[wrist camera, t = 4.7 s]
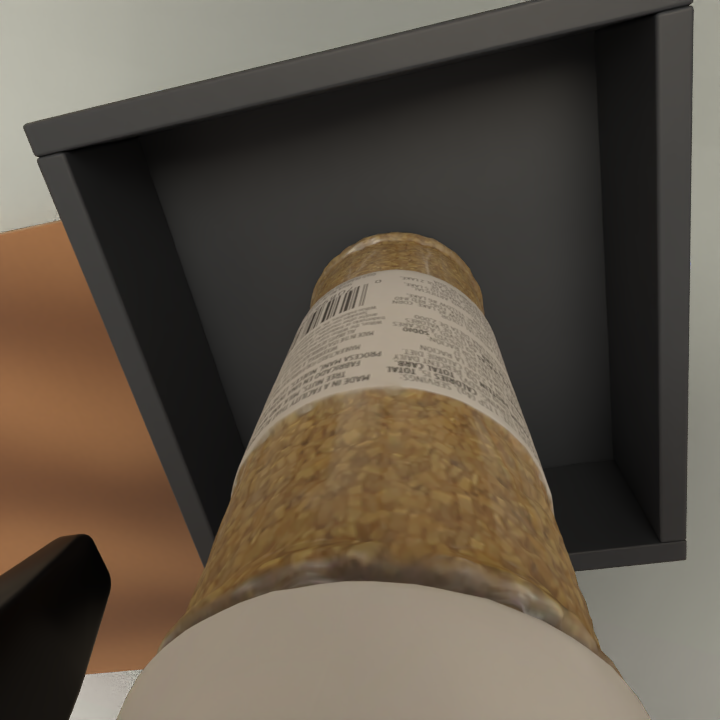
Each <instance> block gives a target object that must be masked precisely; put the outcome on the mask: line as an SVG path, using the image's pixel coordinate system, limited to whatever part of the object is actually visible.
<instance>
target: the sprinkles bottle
mask: <svg viewBox="0 0 720 720" xmlns="http://www.w3.org/2000/svg"><path fill="white" fill-rule="evenodd" d="M116 720H651V719H650V717H649V715H648V713H647V712H646V710H645V708H644V707H643V705H642V703H641V702H640V700H639V698H638V697H637V696H636V694H635V693H634V692H633V691H632V690H631V688H630V687H629V686H628V685H627V684H626V683H625V681H624V679H623V678H622V676H621V674H620V673H619V671H618V670H617V668H616V667H615V665H614V663H613V662H612V661H611V660H610V659H609V658H608V657H607V656H606V655H605V654H604V653H603V652H602V651H601V649H600V645H599V642H598V639H597V637H596V635H595V632H594V629H593V623H592V619H591V617H590V615H589V612H588V608H587V604H586V601H585V599H584V597H583V595H582V593H581V591H580V589H579V587H578V583H577V579H576V575H575V571H574V569H573V566H572V564H571V561H570V558H569V555H568V552H567V550H566V548H565V545H564V542H563V538H562V535H561V533H560V531H559V528H558V526H557V523H556V520H555V518H554V510H553V502H552V495H551V492H550V489H549V486H548V484H547V481H546V478H545V475H544V472H543V469H542V466H541V463H540V460H539V458H538V455H537V452H536V449H535V446H534V444H533V441H532V438H531V435H530V432H529V430H528V427H527V424H526V422H525V419H524V417H523V414H522V411H521V408H520V406H519V403H518V400H517V397H516V395H515V392H514V389H513V387H512V384H511V381H510V379H509V376H508V373H507V370H506V367H505V364H504V361H503V358H502V355H501V352H500V350H499V347H498V344H497V341H496V338H495V335H494V333H493V331H492V329H491V327H490V325H489V323H488V321H487V320H486V318H485V316H484V308H483V299H482V293H481V290H480V286H479V285H478V283H477V281H476V280H475V278H474V277H473V275H472V273H471V270H470V268H469V267H468V266H467V265H466V264H465V262H464V261H463V260H462V259H461V258H460V257H459V256H458V255H457V254H456V253H455V252H454V251H452V250H451V249H449V248H448V247H446V246H445V245H443V244H442V243H440V242H438V241H437V240H435V239H433V238H428V237H424V236H421V235H418V234H413V233H401V232H390V233H385V234H377V235H373V236H369V237H366V238H363V239H361V240H359V241H358V242H357V243H355V244H353V245H351V246H348V247H347V248H345V249H344V250H343V251H342V252H341V254H339V255H338V256H336V257H335V258H334V259H332V260H331V261H330V263H329V264H328V265H327V266H326V268H325V269H324V271H323V273H322V275H321V276H320V278H319V279H318V281H317V283H316V285H315V288H314V290H313V294H312V298H311V304H310V310H309V312H308V313H307V315H306V316H305V318H304V319H303V321H302V323H301V325H300V327H299V329H298V331H297V333H296V336H295V338H294V340H293V342H292V345H291V347H290V349H289V352H288V354H287V356H286V358H285V361H284V363H283V365H282V367H281V370H280V372H279V375H278V377H277V379H276V381H275V383H274V385H273V388H272V390H271V392H270V394H269V397H268V399H267V401H266V404H265V406H264V409H263V411H262V413H261V416H260V418H259V420H258V423H257V425H256V427H255V430H254V432H253V434H252V437H251V439H250V442H249V444H248V446H247V449H246V451H245V453H244V456H243V458H242V461H241V463H240V465H239V468H238V471H237V474H236V477H235V480H234V484H233V488H232V493H231V500H230V503H229V505H228V508H227V510H226V512H225V515H224V517H223V519H222V522H221V524H220V527H219V530H218V532H217V535H216V537H215V540H214V543H213V546H212V549H211V552H210V555H209V558H208V561H207V564H206V567H205V568H204V570H203V572H202V575H201V577H200V579H199V581H198V584H197V586H196V588H195V590H194V593H193V595H192V598H191V600H190V603H189V605H188V608H187V611H186V613H185V614H184V615H183V616H182V617H181V618H180V619H179V620H178V622H177V623H176V624H175V625H174V626H173V627H172V628H171V630H170V631H169V632H168V633H167V634H166V636H165V638H164V639H163V641H162V643H161V644H160V646H159V648H158V651H157V654H156V656H155V657H154V658H153V659H152V660H151V661H150V662H149V663H148V664H147V666H146V667H145V668H144V669H143V671H142V672H141V673H140V675H139V676H138V677H137V679H136V681H135V683H134V684H133V686H132V688H131V690H130V692H129V693H128V695H127V697H126V699H125V702H124V704H123V706H122V708H121V710H120V713H119V715H118V717H117V719H116Z"/></svg>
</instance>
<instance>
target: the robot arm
mask: <svg viewBox="0 0 720 720" xmlns="http://www.w3.org/2000/svg"><path fill="white" fill-rule="evenodd" d="M110 590H111V577H110V573H109V571H108V569H107V567H106V565H105V563H104V561H103V559H102V557H101V555H100V553H99V551H98V549H97V547H96V545H95V543H94V541H93V539H92V538H91V537H90V536H89V535H87V534H75V535H67V536H61V537H58V538H57V539H55V540H53V541H52V542H50V543H49V544H47V545H46V546H44V547H43V548H41V549H40V550H38V551H37V552H35V553H34V554H32V555H31V556H29V557H28V558H26V559H25V560H23V561H22V562H20V563H19V564H17V565H16V566H14V567H13V568H11V569H10V570H8V571H7V572H5V573H3V574H2V575H0V720H69V718H70V715H71V713H72V710H73V708H74V705H75V703H76V700H77V697H78V695H79V692H80V689H81V686H82V683H83V680H84V677H85V674H86V671H87V667H88V664H89V661H90V657H91V654H92V651H93V647H94V644H95V641H96V637H97V634H98V631H99V628H100V624H101V621H102V618H103V614H104V611H105V608H106V604H107V601H108V598H109V595H110Z"/></svg>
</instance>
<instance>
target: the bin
mask: <svg viewBox="0 0 720 720" xmlns="http://www.w3.org/2000/svg"><path fill="white" fill-rule="evenodd" d="M692 2H693V0H531V1H526V2H522V3H518V4H514V5H510V6H506V7H502V8H498V9H494V10H490V11H485V12H481V13H477V14H473V15H469V16H465V17H461V18H457V19H453V20H449V21H444V22H440V23H436V24H432V25H428V26H424V27H420V28H416V29H412V30H408V31H403V32H399V33H395V34H391V35H387V36H383V37H379V38H375V39H371V40H367V41H363V42H358V43H354V44H350V45H346V46H342V47H338V48H334V49H330V50H326V51H322V52H317V53H313V54H309V55H305V56H301V57H297V58H293V59H289V60H285V61H281V62H276V63H272V64H268V65H264V66H260V67H256V68H252V69H248V70H244V71H240V72H235V73H231V74H227V75H223V76H219V77H215V78H211V79H207V80H203V81H199V82H195V83H190V84H186V85H182V86H178V87H174V88H170V89H166V90H162V91H158V92H154V93H149V94H145V95H141V96H137V97H133V98H129V99H125V100H121V101H117V102H113V103H108V104H104V105H100V106H96V107H92V108H88V109H84V110H80V111H76V112H72V113H67V114H63V115H59V116H55V117H51V118H47V119H43V120H39V121H35V122H31V123H27V124H25V125H24V126H23V128H24V131H25V133H26V136H27V138H28V141H29V143H30V146H31V148H32V150H33V153H34V155H35V156H37V157H39V158H38V159H37V163H38V165H39V167H40V170H41V172H42V175H43V177H44V180H45V182H46V185H47V187H48V189H49V192H50V194H51V197H52V199H53V202H54V204H55V206H56V209H57V211H58V214H59V216H60V219H61V221H62V223H63V226H64V228H65V231H66V233H67V236H68V238H69V241H70V243H71V245H72V248H73V250H74V253H75V255H76V258H77V260H78V262H79V265H80V267H81V270H82V272H83V275H84V277H85V279H86V282H87V284H88V287H89V289H90V292H91V294H92V296H93V299H94V301H95V304H96V306H97V309H98V311H99V314H100V316H101V318H102V321H103V323H104V326H105V328H106V331H107V333H108V335H109V338H110V340H111V343H112V345H113V348H114V350H115V352H116V355H117V357H118V360H119V362H120V365H121V367H122V370H123V372H124V374H125V377H126V379H127V382H128V384H129V387H130V389H131V391H132V394H133V396H134V399H135V401H136V404H137V406H138V408H139V411H140V413H141V416H142V418H143V421H144V423H145V426H146V428H147V430H148V433H149V435H150V438H151V440H152V443H153V445H154V447H155V450H156V452H157V455H158V457H159V460H160V462H161V464H162V467H163V469H164V472H165V474H166V477H167V479H168V482H169V484H170V486H171V489H172V491H173V494H174V496H175V499H176V501H177V503H178V506H179V508H180V511H181V513H182V516H183V518H184V520H185V523H186V525H187V528H188V530H189V533H190V535H191V538H192V540H193V542H194V545H195V547H196V550H197V552H198V555H199V557H200V559H201V562H202V564H203V567H204V568H205V567H206V564H207V561H208V558H209V555H210V552H211V549H212V546H213V543H214V540H215V537H216V535H217V532H218V530H219V527H220V524H221V522H222V519H223V517H224V515H225V512H226V510H227V508H228V505H229V503H230V500H231V493H232V488H233V484H234V480H235V477H236V474H237V471H238V468H239V465H240V463H241V461H242V458H243V456H244V453H245V451H246V449H247V446H248V444H249V442H250V439H251V437H252V434H253V432H254V430H255V427H256V425H257V423H258V420H259V418H260V416H261V413H262V411H263V409H264V406H265V404H266V401H267V399H268V397H269V394H270V392H271V390H272V388H273V385H274V383H275V381H276V379H277V377H278V375H279V372H280V370H281V367H282V365H283V363H284V361H285V358H286V356H287V354H288V352H289V349H290V347H291V345H292V342H293V340H294V338H295V336H296V333H297V331H298V329H299V327H300V325H301V323H302V321H303V319H304V318H305V316H306V315H307V313H308V312H309V310H310V304H311V298H312V294H313V290H314V288H315V285H316V283H317V281H318V279H319V278H320V276H321V275H322V273H323V271H324V269H325V268H326V266H327V265H328V264H329V263H330V261H331V260H332V259H334V258H335V257H336V256H338V255H339V254H341V252H342V251H343V250H344V249H345V248H347V247H348V246H351V245H353V244H355V243H357V242H358V241H359V240H361V239H363V238H366V237H369V236H373V235H377V234H385V233H390V232H401V233H413V234H418V235H421V236H424V237H428V238H433V239H435V240H437V241H438V242H440V243H442V244H443V245H445V246H446V247H448V248H449V249H451V250H452V251H454V252H455V253H456V254H457V255H458V256H459V257H460V258H461V259H462V260H463V261H464V262H465V264H466V265H467V266H468V267H469V268H470V270H471V273H472V275H473V277H474V278H475V280H476V281H477V283H478V285H479V286H480V290H481V293H482V299H483V308H484V316H485V318H486V320H487V321H488V323H489V325H490V327H491V329H492V331H493V333H494V335H495V338H496V341H497V344H498V347H499V350H500V352H501V355H502V358H503V361H504V364H505V367H506V370H507V373H508V376H509V379H510V381H511V384H512V387H513V389H514V392H515V395H516V397H517V400H518V403H519V406H520V408H521V411H522V414H523V417H524V419H525V422H526V424H527V427H528V430H529V432H530V435H531V438H532V441H533V444H534V446H535V449H536V452H537V455H538V458H539V460H540V463H541V466H542V469H543V472H544V475H545V478H546V481H547V484H548V486H549V489H550V492H551V495H552V502H553V510H554V518H555V520H556V523H557V526H558V528H559V531H560V533H561V535H562V538H563V542H564V545H565V548H566V550H567V552H568V555H569V558H570V561H571V564H572V566H573V569H574V571H584V570H594V569H603V568H613V567H622V566H632V565H642V564H651V563H661V562H671V561H680V560H686V543H687V541H686V540H685V539H686V513H687V441H688V370H689V299H690V227H691V156H692V85H693V13H694V9H693V6H689V5H690V4H691V3H692Z"/></svg>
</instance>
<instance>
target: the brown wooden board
mask: <svg viewBox="0 0 720 720" xmlns="http://www.w3.org/2000/svg"><path fill="white" fill-rule="evenodd" d="M75 534H87V535H89V536H90V537H91V538H92V539H93V541H94V543H95V545H96V547H97V549H98V551H99V553H100V555H101V557H102V559H103V561H104V563H105V565H106V567H107V569H108V571H109V573H110V577H111V590H110V595H109V598H108V601H107V604H106V608H105V611H104V614H103V618H102V621H101V624H100V628H99V631H98V634H97V637H96V641H95V644H94V647H93V651H92V654H91V657H90V661H89V664H88V667H87V671H86V674H96V673H107V672H118V671H129V670H140V669H144V668H145V667H146V666H147V664H148V663H149V662H150V661H151V660H152V659H153V658H154V657H155V656H156V654H157V651H158V648H159V646H160V644H161V643H162V641H163V639H164V638H165V636H166V634H167V633H168V632H169V631H170V630H171V628H172V627H173V626H174V625H175V624H176V623H177V622H178V620H179V619H180V618H181V617H182V616H183V615H184V614H185V613H186V611H187V608H188V605H189V603H190V600H191V598H192V595H193V593H194V590H195V588H196V586H197V584H198V581H199V579H200V577H201V575H202V572H203V570H204V567H203V564H202V562H201V559H200V557H199V555H198V552H197V550H196V547H195V545H194V542H193V540H192V538H191V535H190V533H189V530H188V528H187V525H186V523H185V520H184V518H183V516H182V513H181V511H180V508H179V506H178V503H177V501H176V499H175V496H174V494H173V491H172V489H171V486H170V484H169V482H168V479H167V477H166V474H165V472H164V469H163V467H162V464H161V462H160V460H159V457H158V455H157V452H156V450H155V447H154V445H153V443H152V440H151V438H150V435H149V433H148V430H147V428H146V426H145V423H144V421H143V418H142V416H141V413H140V411H139V408H138V406H137V404H136V401H135V399H134V396H133V394H132V391H131V389H130V387H129V384H128V382H127V379H126V377H125V374H124V372H123V370H122V367H121V365H120V362H119V360H118V357H117V355H116V352H115V350H114V348H113V345H112V343H111V340H110V338H109V335H108V333H107V331H106V328H105V326H104V323H103V321H102V318H101V316H100V314H99V311H98V309H97V306H96V304H95V301H94V299H93V296H92V294H91V292H90V289H89V287H88V284H87V282H86V279H85V277H84V275H83V272H82V270H81V267H80V265H79V262H78V260H77V258H76V255H75V253H74V250H73V248H72V245H71V243H70V241H69V238H68V236H67V233H66V231H65V228H64V226H63V223H62V221H61V220H58V221H53V222H49V223H44V224H39V225H35V226H30V227H26V228H21V229H16V230H12V231H7V232H2V233H0V575H2V574H3V573H5V572H7V571H8V570H10V569H11V568H13V567H14V566H16V565H17V564H19V563H20V562H22V561H23V560H25V559H26V558H28V557H29V556H31V555H32V554H34V553H35V552H37V551H38V550H40V549H41V548H43V547H44V546H46V545H47V544H49V543H50V542H52V541H53V540H55V539H57V538H58V537H61V536H67V535H75Z"/></svg>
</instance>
